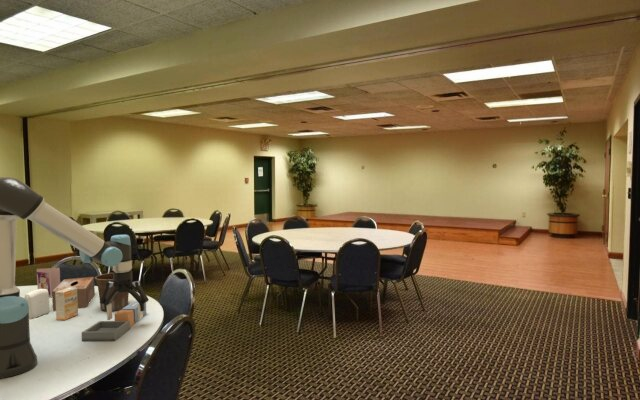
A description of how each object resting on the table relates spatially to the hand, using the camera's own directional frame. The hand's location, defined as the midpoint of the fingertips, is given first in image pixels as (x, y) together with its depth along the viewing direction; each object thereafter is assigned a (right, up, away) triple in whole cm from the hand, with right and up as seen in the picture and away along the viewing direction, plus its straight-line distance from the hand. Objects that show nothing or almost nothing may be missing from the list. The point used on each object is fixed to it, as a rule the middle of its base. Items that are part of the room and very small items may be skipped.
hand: (125, 318), depth 182 cm
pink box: (-64, -1, +49) cm, 81 cm away
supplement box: (-32, -3, +11) cm, 34 cm away
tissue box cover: (-43, -2, +36) cm, 56 cm away
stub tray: (-2, -3, -11) cm, 12 cm away
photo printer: (-48, -3, +15) cm, 50 cm away
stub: (0, -3, 0) cm, 3 cm away
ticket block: (0, -2, +9) cm, 9 cm away
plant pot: (-17, -2, +25) cm, 30 cm away
